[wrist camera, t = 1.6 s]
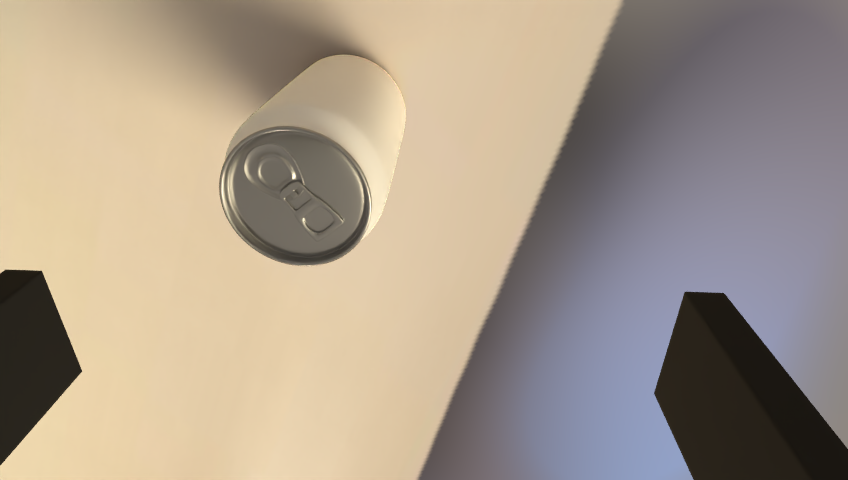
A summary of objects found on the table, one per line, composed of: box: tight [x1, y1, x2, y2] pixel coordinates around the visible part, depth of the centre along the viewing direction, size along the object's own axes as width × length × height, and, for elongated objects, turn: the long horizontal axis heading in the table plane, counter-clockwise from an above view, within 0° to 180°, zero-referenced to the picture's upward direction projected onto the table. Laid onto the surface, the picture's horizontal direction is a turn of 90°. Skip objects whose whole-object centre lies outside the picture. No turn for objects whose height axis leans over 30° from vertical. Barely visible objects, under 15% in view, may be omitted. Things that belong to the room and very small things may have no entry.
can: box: [219, 55, 406, 266], centre depth 25 cm, size 6×6×12 cm
